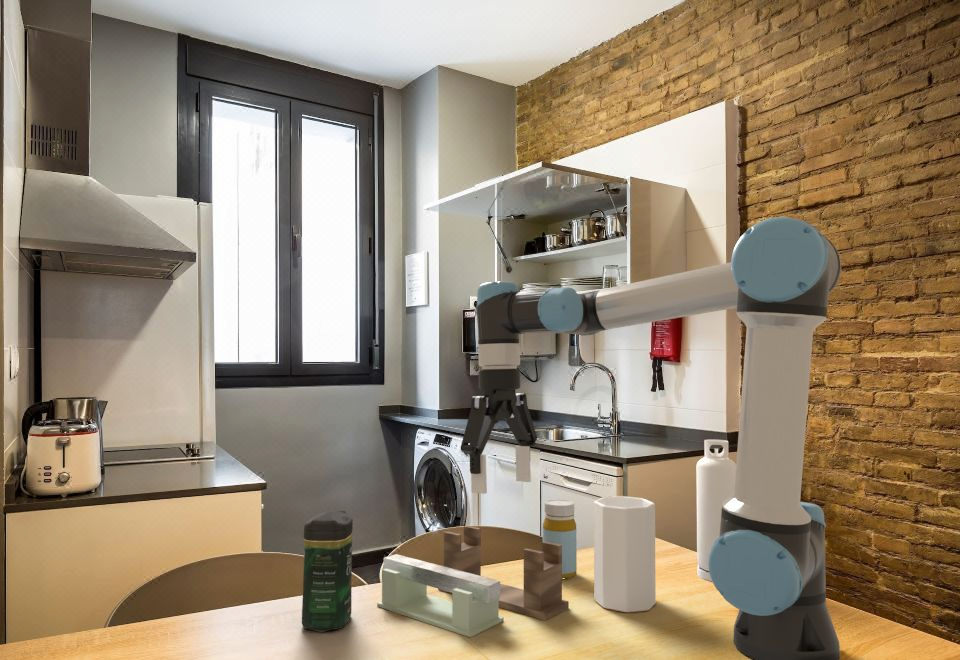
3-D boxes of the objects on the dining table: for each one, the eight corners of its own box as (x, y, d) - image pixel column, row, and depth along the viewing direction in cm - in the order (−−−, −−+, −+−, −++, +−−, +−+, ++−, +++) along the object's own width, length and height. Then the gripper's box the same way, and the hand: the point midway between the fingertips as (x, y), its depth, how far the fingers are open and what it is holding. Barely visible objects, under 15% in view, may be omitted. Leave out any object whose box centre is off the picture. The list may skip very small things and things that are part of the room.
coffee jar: (344, 633, 113) (345, 519, 114) (296, 633, 113) (298, 519, 114) (356, 612, 123) (357, 506, 123) (312, 611, 123) (313, 506, 123)
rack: (568, 608, 125) (568, 545, 125) (545, 620, 119) (545, 554, 119) (463, 579, 140) (463, 524, 141) (438, 589, 134) (438, 531, 135)
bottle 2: (697, 580, 140) (696, 442, 141) (697, 568, 148) (695, 438, 149) (739, 584, 138) (738, 443, 139) (737, 572, 146) (735, 439, 147)
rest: (503, 620, 118) (503, 582, 119) (470, 637, 111) (470, 596, 112) (412, 593, 132) (412, 558, 133) (377, 606, 125) (377, 569, 126)
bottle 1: (536, 572, 145) (536, 500, 146) (565, 568, 148) (564, 497, 149) (553, 582, 139) (553, 507, 140) (583, 577, 142) (582, 504, 143)
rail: (500, 597, 115) (500, 581, 116) (488, 603, 113) (488, 585, 113) (395, 568, 131) (395, 554, 131) (383, 573, 129) (383, 557, 129)
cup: (627, 618, 120) (626, 511, 121) (581, 599, 129) (581, 500, 130) (668, 604, 126) (667, 503, 127) (622, 588, 135) (622, 493, 136)
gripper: (520, 367, 136) (523, 475, 135) (438, 369, 117) (440, 496, 115) (553, 366, 132) (556, 478, 131) (473, 368, 112) (476, 500, 111)
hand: (502, 487), depth 123 cm, fingers open, 13 cm apart
